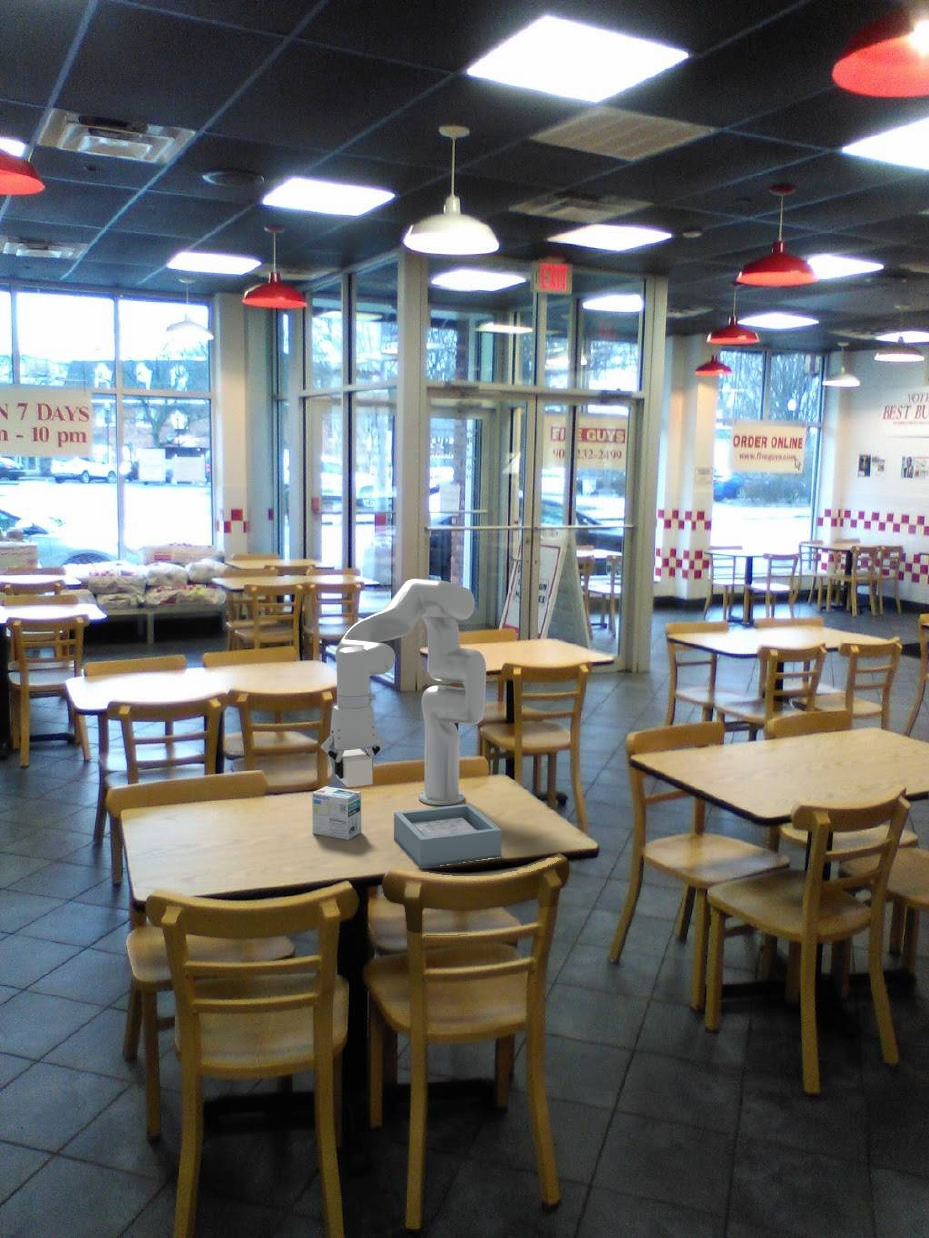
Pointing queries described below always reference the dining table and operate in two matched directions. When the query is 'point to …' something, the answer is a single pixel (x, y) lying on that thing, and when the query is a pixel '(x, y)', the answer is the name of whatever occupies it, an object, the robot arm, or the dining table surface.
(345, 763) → the white rectangular block
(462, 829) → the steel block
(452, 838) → the tray
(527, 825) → the dining table surface
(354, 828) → the light bulb box
